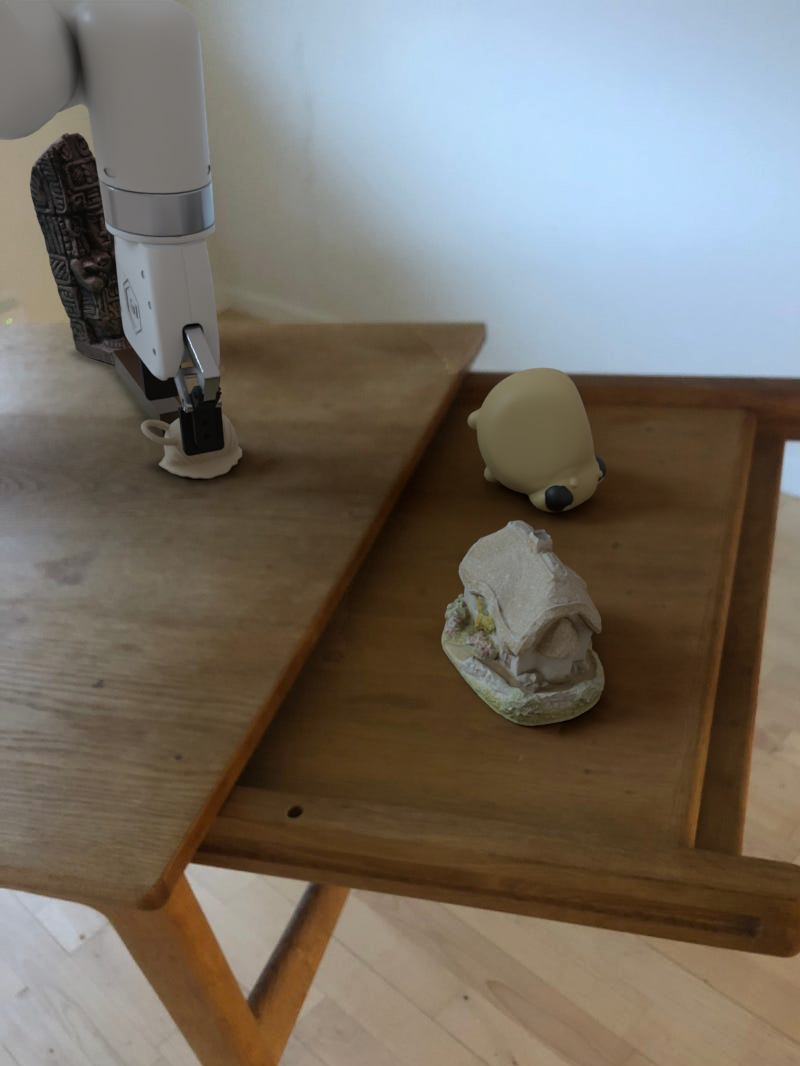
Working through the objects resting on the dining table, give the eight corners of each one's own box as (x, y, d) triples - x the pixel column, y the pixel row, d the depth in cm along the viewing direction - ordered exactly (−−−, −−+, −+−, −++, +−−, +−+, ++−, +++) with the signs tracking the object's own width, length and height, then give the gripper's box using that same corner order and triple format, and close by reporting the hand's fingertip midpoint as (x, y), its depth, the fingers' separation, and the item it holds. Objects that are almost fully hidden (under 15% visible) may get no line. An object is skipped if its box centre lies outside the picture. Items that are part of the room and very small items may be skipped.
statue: (122, 369, 94) (81, 148, 81) (62, 353, 96) (12, 134, 83) (163, 343, 99) (131, 131, 86) (105, 329, 101) (64, 118, 88)
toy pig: (497, 543, 83) (579, 514, 74) (433, 416, 80) (509, 371, 72) (568, 499, 88) (652, 467, 80) (510, 379, 86) (589, 333, 77)
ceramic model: (418, 606, 70) (422, 489, 63) (557, 581, 73) (575, 467, 67) (488, 742, 60) (502, 620, 53) (645, 705, 63) (676, 586, 57)
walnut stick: (163, 436, 85) (159, 414, 84) (116, 372, 94) (112, 350, 92) (187, 431, 86) (184, 409, 85) (138, 368, 95) (135, 346, 93)
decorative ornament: (252, 468, 82) (247, 412, 79) (155, 491, 78) (145, 432, 75) (235, 447, 85) (229, 391, 81) (140, 467, 81) (130, 410, 77)
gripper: (72, 172, 71) (107, 385, 82) (142, 253, 61) (172, 484, 72) (172, 166, 75) (193, 371, 86) (255, 242, 64) (267, 465, 75)
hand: (183, 423), depth 79 cm, fingers open, 9 cm apart
